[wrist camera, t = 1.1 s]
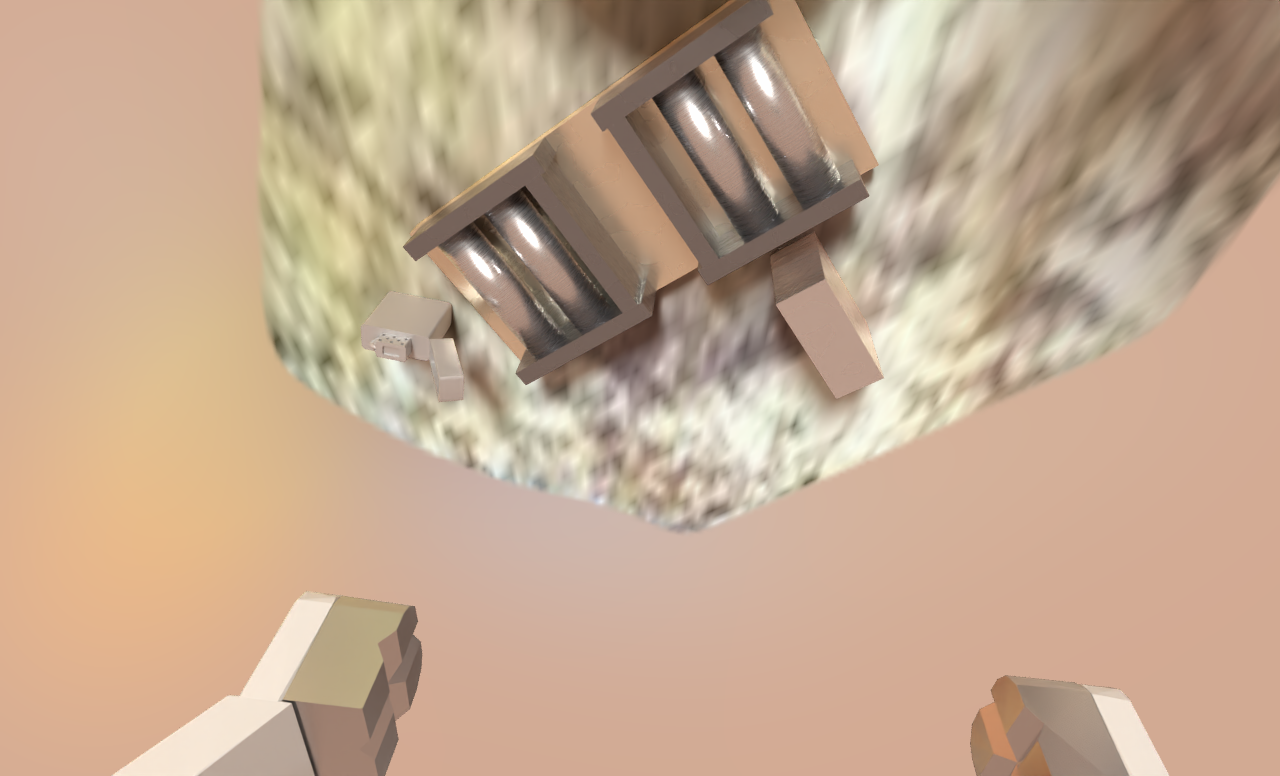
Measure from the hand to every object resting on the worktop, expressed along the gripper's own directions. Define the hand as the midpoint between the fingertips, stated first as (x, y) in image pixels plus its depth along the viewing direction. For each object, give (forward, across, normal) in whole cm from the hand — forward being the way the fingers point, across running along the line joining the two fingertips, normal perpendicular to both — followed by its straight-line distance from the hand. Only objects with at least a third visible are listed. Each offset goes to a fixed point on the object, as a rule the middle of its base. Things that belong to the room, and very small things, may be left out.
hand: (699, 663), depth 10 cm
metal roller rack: (+34, +4, +5) cm, 35 cm away
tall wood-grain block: (+34, -8, +10) cm, 36 cm away
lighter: (+35, +15, +15) cm, 41 cm away
